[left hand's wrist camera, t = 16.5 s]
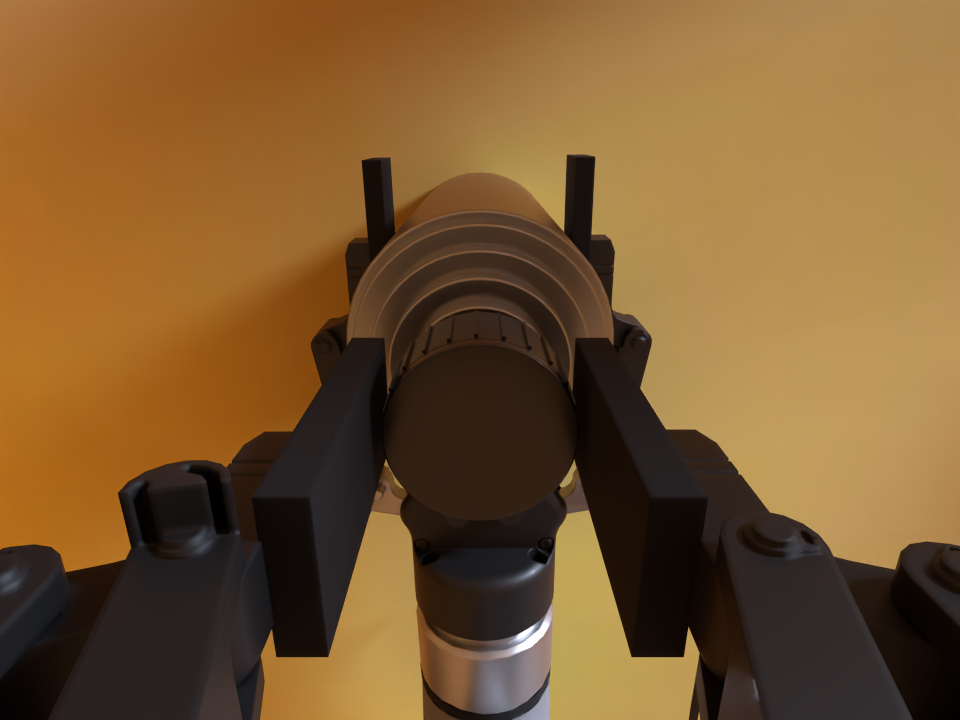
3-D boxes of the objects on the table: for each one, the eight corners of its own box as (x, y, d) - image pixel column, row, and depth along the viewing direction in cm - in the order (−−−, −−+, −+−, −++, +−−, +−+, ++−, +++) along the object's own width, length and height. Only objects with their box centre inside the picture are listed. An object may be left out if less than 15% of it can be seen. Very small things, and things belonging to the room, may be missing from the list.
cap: (592, 338, 14) (612, 375, 12) (533, 486, 15) (542, 543, 13) (419, 286, 13) (408, 314, 11) (375, 443, 15) (358, 495, 13)
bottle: (527, 330, 34) (593, 606, 14) (394, 295, 34) (268, 533, 14) (570, 196, 32) (726, 302, 12) (427, 154, 31) (332, 192, 11)
